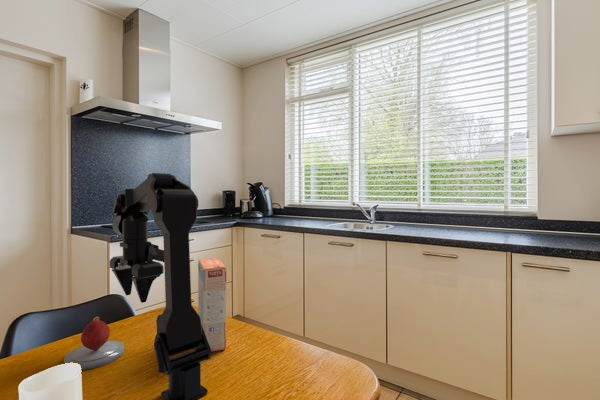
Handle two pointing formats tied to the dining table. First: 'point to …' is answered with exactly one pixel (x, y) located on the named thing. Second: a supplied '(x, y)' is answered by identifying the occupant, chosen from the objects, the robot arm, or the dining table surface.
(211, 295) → the cracker box
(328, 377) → the dining table surface
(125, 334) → the dining table surface
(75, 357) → the plate
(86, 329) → the onion
